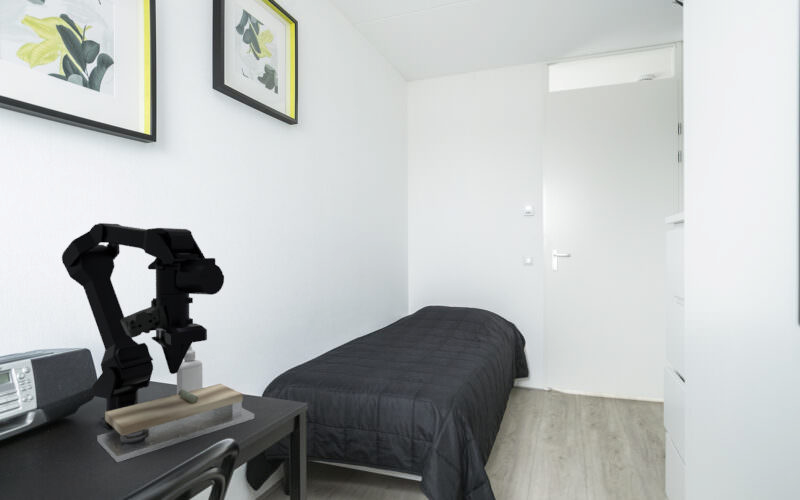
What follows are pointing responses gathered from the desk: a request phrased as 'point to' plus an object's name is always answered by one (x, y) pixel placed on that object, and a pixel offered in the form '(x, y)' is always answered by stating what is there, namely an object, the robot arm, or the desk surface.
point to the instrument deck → (171, 408)
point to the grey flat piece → (172, 432)
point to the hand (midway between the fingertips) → (173, 373)
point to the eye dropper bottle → (189, 373)
